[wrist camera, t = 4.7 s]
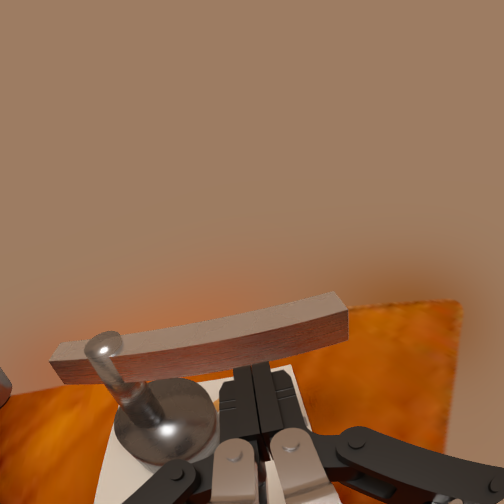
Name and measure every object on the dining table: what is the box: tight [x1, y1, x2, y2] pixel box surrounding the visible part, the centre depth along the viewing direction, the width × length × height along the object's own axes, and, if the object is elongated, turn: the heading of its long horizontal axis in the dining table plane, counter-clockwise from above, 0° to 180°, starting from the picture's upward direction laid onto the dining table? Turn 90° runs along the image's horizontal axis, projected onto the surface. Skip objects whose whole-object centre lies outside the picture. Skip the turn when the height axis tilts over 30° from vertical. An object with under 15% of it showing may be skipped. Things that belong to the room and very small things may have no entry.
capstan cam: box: [49, 291, 348, 474], centre depth 18 cm, size 21×9×12 cm, turn 96°
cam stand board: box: [94, 364, 312, 504], centre depth 20 cm, size 20×18×1 cm
